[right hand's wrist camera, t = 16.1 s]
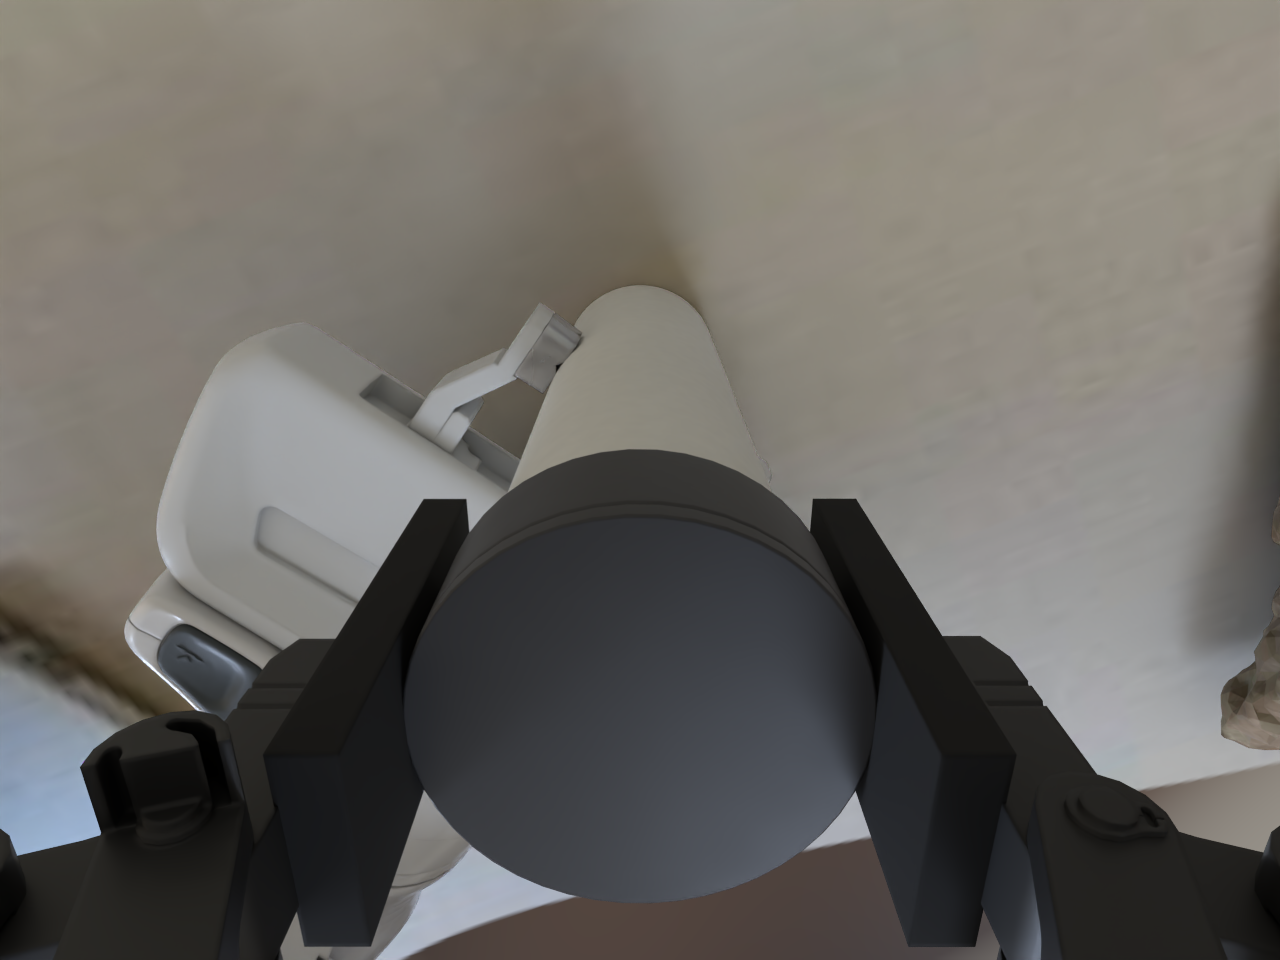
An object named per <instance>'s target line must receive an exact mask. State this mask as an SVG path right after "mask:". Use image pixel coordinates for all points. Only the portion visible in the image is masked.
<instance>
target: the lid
mask: <svg viewBox="0 0 1280 960" xmlns="http://www.w3.org/2000/svg"><path fill="white" fill-rule="evenodd" d="M876 710H877V691H876V685H875V679H874V674H873V668H872V665H871V662H870V659H869V656H868V653H867V650H866V648H865V645H864V642H863V640H862V638H861V635H860V633H859V631H858V629H857V627H856V624H855V622H854V620H853V618H852V616H851V614H850V611H849V609H848V607H847V605H846V603H845V600H844V598H843V596H842V594H841V592H840V590H839V587H838V585H837V583H836V581H835V579H834V576H833V574H832V572H831V570H830V568H829V566H828V563H827V561H826V559H825V557H824V555H823V553H822V552H821V550H820V548H819V546H818V544H817V542H816V540H815V538H814V537H813V536H812V534H811V533H810V532H809V530H808V529H807V528H806V526H805V525H804V523H803V522H802V521H801V519H800V518H799V517H798V516H797V515H796V514H795V513H794V512H793V511H792V510H791V509H790V508H789V507H788V506H787V505H786V504H785V503H784V502H783V501H782V500H781V499H780V498H778V497H777V496H776V495H774V494H773V493H772V492H770V491H769V490H768V489H766V488H765V487H764V486H763V485H761V484H759V483H758V482H756V481H754V480H753V479H751V478H749V477H747V476H746V475H744V474H742V473H740V472H739V471H736V470H734V469H731V468H729V467H727V466H724V465H722V464H719V463H717V462H714V461H712V460H708V459H704V458H701V457H697V456H693V455H689V454H686V453H679V452H671V451H664V450H654V449H626V450H617V451H608V452H600V453H595V454H591V455H587V456H583V457H579V458H575V459H571V460H569V461H566V462H564V463H561V464H558V465H556V466H553V467H550V468H548V469H546V470H544V471H542V472H540V473H538V474H536V475H534V476H533V477H531V478H529V479H527V480H525V481H523V482H522V483H521V484H519V485H518V486H516V487H515V488H514V489H512V490H511V491H509V492H508V493H507V494H505V495H504V496H502V497H501V498H500V499H499V500H498V501H497V502H496V503H495V504H494V505H493V506H492V507H491V508H490V509H489V510H488V511H487V512H486V513H485V514H484V515H483V516H482V517H481V518H480V520H479V521H478V522H477V524H476V525H475V526H474V527H473V529H472V530H471V531H470V532H469V534H468V535H467V537H466V539H465V541H464V542H463V544H462V546H461V548H460V549H459V551H458V553H457V555H456V557H455V559H454V561H453V563H452V565H451V568H450V570H449V572H448V574H447V576H446V578H445V581H444V583H443V585H442V587H441V589H440V591H439V593H438V596H437V598H436V600H435V602H434V604H433V606H432V609H431V611H430V613H429V615H428V617H427V619H426V622H425V624H424V626H423V628H422V630H421V632H420V635H419V637H418V639H417V642H416V645H415V647H414V650H413V652H412V655H411V658H410V660H409V664H408V668H407V673H406V678H405V683H404V687H403V714H404V722H405V729H406V737H407V744H408V750H409V754H410V758H411V761H412V765H413V767H414V769H415V771H416V774H417V776H418V778H419V780H420V783H421V785H422V787H423V789H424V790H425V792H426V793H427V795H428V797H429V798H430V800H431V801H432V803H433V805H434V806H435V808H436V809H437V810H438V812H439V813H440V814H441V815H442V816H443V818H444V819H445V820H446V821H447V822H448V824H449V825H450V826H451V827H452V828H453V829H454V830H455V831H456V832H457V833H458V834H459V835H460V836H461V837H462V838H463V839H465V840H466V841H467V842H468V843H469V844H470V845H471V846H472V847H473V848H475V849H476V850H478V851H479V852H480V853H482V854H483V855H485V856H486V857H487V858H489V859H490V860H491V861H493V862H494V863H496V864H498V865H500V866H501V867H503V868H505V869H507V870H509V871H510V872H512V873H514V874H516V875H517V876H520V877H522V878H524V879H527V880H529V881H531V882H534V883H536V884H538V885H541V886H543V887H547V888H550V889H553V890H556V891H559V892H562V893H566V894H569V895H574V896H579V897H584V898H589V899H593V900H601V901H610V902H619V903H659V902H671V901H680V900H686V899H691V898H697V897H702V896H707V895H710V894H713V893H717V892H720V891H724V890H728V889H731V888H734V887H736V886H739V885H741V884H744V883H746V882H749V881H751V880H754V879H756V878H758V877H760V876H762V875H764V874H766V873H768V872H770V871H771V870H773V869H775V868H777V867H779V866H781V865H782V864H784V863H785V862H787V861H788V860H790V859H791V858H793V857H794V856H796V855H797V854H798V853H800V852H801V851H803V850H804V849H805V848H806V847H807V846H809V845H810V844H811V843H812V842H813V841H814V840H815V839H817V838H818V837H819V836H820V835H821V834H822V833H823V832H824V831H825V830H826V829H827V828H828V827H829V826H830V824H831V823H832V822H833V821H834V820H835V819H836V818H837V817H838V815H839V814H840V813H841V812H842V810H843V809H844V807H845V806H846V804H847V803H848V801H849V800H850V798H851V797H852V795H853V794H854V792H855V790H856V788H857V786H858V784H859V782H860V780H861V778H862V776H863V774H864V772H865V770H866V767H867V763H868V760H869V757H870V754H871V749H872V742H873V734H874V727H875V719H876Z"/></svg>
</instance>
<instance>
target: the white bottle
mask: <svg viewBox="0 0 1280 960" xmlns="http://www.w3.org/2000/svg"><path fill="white" fill-rule="evenodd" d="M574 327H575V328H577V329H578V330H580V331H581V332H582V335H581V336H580V340H579V342H578V344H577V346H576V347H575V349H574V350H573V352H572V353H571V355H570V356H569V357H568V358H567V359H566V360H565V361H564V363H561V364H559V367H558V370H557V372H556V374H555V376H554V378H553V380H552V382H551V384H550V387H549V389H548V392H547V394H546V397H545V399H544V402H543V404H542V407H541V410H540V412H539V415H538V417H537V420H536V422H535V425H534V427H533V430H532V432H531V435H530V437H529V440H528V442H527V445H526V448H525V450H524V453H523V455H522V458H521V460H520V463H519V465H518V468H517V470H516V473H515V475H514V478H513V481H512V483H511V486H510V488H509V491H511V490H512V489H514V488H515V487H516V486H518V485H519V484H521V483H522V482H523V481H525V480H527V479H529V478H531V477H533V476H534V475H536V474H538V473H540V472H542V471H544V470H546V469H548V468H550V467H553V466H556V465H558V464H561V463H564V462H566V461H569V460H571V459H575V458H579V457H583V456H587V455H591V454H595V453H600V452H608V451H617V450H626V449H654V450H664V451H671V452H679V453H686V454H689V455H693V456H697V457H701V458H704V459H708V460H712V461H714V462H717V463H719V464H722V465H724V466H727V467H729V468H731V469H734V470H736V471H739V472H740V473H742V474H744V475H746V476H747V477H749V478H751V479H753V480H754V481H756V482H758V483H759V484H761V485H763V486H764V487H765V488H766V489H768V490H769V491H770V492H772V491H771V488H770V485H769V483H768V480H767V478H766V475H765V473H764V470H763V468H762V465H761V462H760V460H759V457H758V455H757V452H756V450H755V447H754V445H753V442H752V440H751V437H750V434H749V432H748V429H747V427H746V424H745V422H744V419H743V417H742V414H741V411H740V409H739V406H738V404H737V401H736V399H735V396H734V394H733V391H732V388H731V386H730V383H729V381H728V378H727V376H726V373H725V371H724V368H723V365H722V363H721V360H720V358H719V355H718V353H717V350H716V348H715V345H714V342H713V340H712V337H711V335H710V332H709V330H708V328H707V325H706V324H705V322H704V320H703V319H702V317H701V316H700V314H699V313H698V312H697V311H696V309H695V308H694V307H692V306H691V305H690V304H689V303H688V302H687V301H686V300H684V299H683V298H682V297H680V296H678V295H676V294H675V293H673V292H670V291H668V290H665V289H663V288H659V287H654V286H647V285H633V286H626V287H622V288H618V289H615V290H612V291H610V292H608V293H606V294H604V295H602V296H601V297H599V298H598V299H596V300H595V301H594V302H592V303H591V304H590V305H589V306H588V307H587V308H586V309H585V310H584V311H583V312H582V314H581V315H580V317H579V318H578V319H577V321H576V323H575V325H574ZM509 491H508V492H509Z"/></svg>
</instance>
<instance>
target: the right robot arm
mask: <svg viewBox="0 0 1280 960" xmlns="http://www.w3.org/2000/svg"><path fill="white" fill-rule="evenodd" d="M810 533H811V534H812V536H813V537H814V538H815V540H816V542H817V544H818V546H819V548H820V550H821V552H822V553H823V555H824V557H825V559H826V561H827V563H828V566H829V568H830V570H831V572H832V574H833V576H834V579H835V581H836V583H837V585H838V587H839V590H840V592H841V594H842V596H843V598H844V600H845V603H846V605H847V607H848V609H849V611H850V614H851V616H852V618H853V620H854V622H855V624H856V627H857V629H858V631H859V633H860V635H861V638H862V640H863V642H864V645H865V648H866V650H867V653H868V656H869V659H870V662H871V665H872V668H873V674H874V679H875V685H876V691H877V710H876V719H875V727H874V734H873V742H872V749H871V754H870V757H869V760H868V763H867V767H866V770H865V772H864V774H863V776H862V778H861V780H860V782H859V784H858V786H857V788H856V793H857V796H858V799H859V802H860V805H861V808H862V811H863V814H864V817H865V820H866V823H867V826H868V829H869V832H870V835H871V838H872V841H873V843H874V846H875V849H876V852H877V855H878V858H879V861H880V864H881V867H882V870H883V873H884V876H885V879H886V882H887V885H888V888H889V891H890V894H891V896H892V899H893V902H894V905H895V908H896V911H897V914H898V917H899V920H900V923H901V926H902V929H903V932H904V935H905V938H906V941H907V944H908V946H909V947H975V945H976V941H977V936H978V931H979V927H980V922H981V918H982V913H983V909H984V911H985V914H986V916H987V918H988V920H989V922H990V925H991V927H992V929H993V931H994V933H995V936H996V938H997V940H998V942H999V944H1000V949H999V953H998V957H997V960H1280V826H1279V827H1278V828H1276V829H1275V830H1274V831H1272V832H1271V834H1270V837H1269V840H1268V842H1267V845H1266V848H1265V850H1264V853H1263V852H1259V851H1254V850H1250V849H1246V848H1241V847H1237V846H1233V845H1228V844H1224V843H1220V842H1215V841H1211V840H1207V839H1202V838H1198V837H1194V836H1191V835H1188V834H1185V833H1181V832H1179V831H1178V830H1177V828H1176V827H1175V825H1174V824H1173V822H1172V821H1171V819H1170V818H1169V816H1168V814H1167V813H1166V812H1165V811H1164V810H1163V809H1161V808H1160V807H1159V806H1158V805H1157V804H1155V803H1154V802H1153V801H1152V800H1151V799H1150V798H1148V797H1147V796H1146V795H1144V794H1143V793H1141V792H1139V791H1137V790H1135V789H1133V788H1131V787H1129V786H1128V785H1126V784H1124V783H1122V782H1120V781H1117V780H1114V779H1110V778H1107V777H1104V776H1101V775H1097V774H1096V772H1095V771H1094V770H1093V768H1092V767H1091V766H1090V764H1089V763H1088V761H1087V760H1086V759H1085V757H1084V756H1083V755H1082V753H1081V752H1080V751H1079V749H1078V748H1077V747H1076V745H1075V744H1074V743H1073V741H1072V740H1071V738H1070V737H1069V736H1068V734H1067V733H1066V732H1065V730H1064V729H1063V728H1062V726H1061V725H1060V724H1059V722H1058V721H1057V720H1056V718H1055V717H1054V715H1053V714H1052V713H1051V711H1050V710H1049V709H1048V707H1047V706H1043V701H1042V699H1041V698H1040V697H1039V695H1038V694H1037V692H1036V691H1035V690H1034V688H1033V687H1032V686H1029V685H1028V680H1027V679H1026V678H1025V676H1024V675H1023V674H1022V672H1021V671H1020V669H1019V668H1018V667H1017V665H1016V664H1015V663H1014V661H1013V660H1012V659H1011V657H1010V656H1008V655H1007V654H1005V653H1004V652H1003V651H1001V650H1000V649H998V648H997V647H995V646H994V645H992V644H991V643H990V642H988V641H987V640H985V639H984V638H982V637H981V636H942V635H941V633H940V632H939V630H938V628H937V627H936V625H935V624H934V622H933V620H932V619H931V617H930V616H929V614H928V613H927V611H926V609H925V608H924V606H923V605H922V603H921V601H920V600H919V598H918V597H917V595H916V593H915V592H914V590H913V589H912V587H911V586H910V584H909V582H908V581H907V579H906V578H905V576H904V574H903V573H902V571H901V570H900V568H899V566H898V565H897V563H896V562H895V560H894V559H893V557H892V555H891V554H890V552H889V551H888V549H887V547H886V546H885V544H884V543H883V541H882V539H881V538H880V536H879V535H878V533H877V532H876V530H875V528H874V527H873V525H872V524H871V522H870V520H869V519H868V517H867V516H866V514H865V512H864V511H863V509H862V508H861V506H860V505H859V503H858V501H857V500H856V499H813V505H812V516H811V528H810ZM468 534H469V521H468V510H467V499H423V501H422V502H421V504H420V505H419V507H418V509H417V510H416V512H415V513H414V515H413V517H412V518H411V520H410V521H409V523H408V524H407V526H406V528H405V529H404V531H403V532H402V534H401V536H400V537H399V539H398V540H397V542H396V543H395V545H394V547H393V548H392V550H391V551H390V553H389V555H388V556H387V558H386V559H385V561H384V563H383V564H382V566H381V567H380V569H379V570H378V572H377V574H376V575H375V577H374V578H373V580H372V582H371V583H370V585H369V586H368V588H367V590H366V591H365V593H364V594H363V596H362V597H361V599H360V601H359V602H358V604H357V605H356V607H355V609H354V610H353V612H352V613H351V615H350V617H349V618H348V620H347V621H346V623H345V624H344V626H343V628H342V629H341V631H340V632H339V634H338V636H337V637H336V639H298V640H297V641H295V642H294V643H293V644H291V645H290V646H288V647H287V648H285V649H284V650H283V651H281V652H280V653H278V654H277V655H275V656H274V657H273V658H271V659H270V660H269V661H268V663H267V664H266V665H265V667H264V668H263V669H262V671H261V672H260V674H259V675H258V676H257V678H256V679H255V680H254V682H253V683H252V688H248V690H247V691H246V693H245V694H244V695H243V697H242V698H241V699H240V701H239V702H238V703H237V709H233V710H232V712H231V713H230V714H229V716H228V717H227V718H226V720H225V721H224V720H222V719H221V718H220V717H219V716H217V715H216V714H211V713H206V712H201V711H197V710H195V711H181V712H170V713H166V714H162V715H159V716H155V717H151V718H148V719H144V720H141V721H139V722H137V723H135V724H133V725H131V726H129V727H127V728H125V729H123V730H120V731H118V732H116V733H115V734H113V735H112V736H111V737H109V738H108V739H107V740H105V741H104V742H103V743H101V744H100V745H99V746H97V747H96V748H95V749H93V751H92V752H91V753H90V755H89V756H88V757H87V759H86V760H85V761H84V763H83V764H82V765H81V767H80V769H81V772H82V775H83V778H84V781H85V784H86V787H87V790H88V793H89V796H90V800H91V803H92V806H93V809H94V812H95V815H96V818H97V821H98V824H99V827H100V830H101V835H100V836H97V837H93V838H90V839H87V840H83V841H79V842H75V843H70V844H66V845H62V846H58V847H53V848H49V849H45V850H40V851H36V852H32V853H27V854H23V855H19V856H17V855H16V852H15V849H14V847H13V844H12V842H11V839H10V836H9V835H8V834H7V833H5V832H4V831H3V830H1V829H0V960H283V957H282V953H281V949H280V947H281V945H282V943H283V941H284V939H285V936H286V934H287V932H288V930H289V928H290V925H291V923H292V921H293V919H294V917H295V914H296V912H297V915H298V920H299V925H300V929H301V934H302V938H303V943H304V947H371V945H372V942H373V939H374V936H375V933H376V931H377V928H378V925H379V922H380V919H381V916H382V913H383V910H384V907H385V904H386V901H387V898H388V895H389V892H390V889H391V886H392V883H393V880H394V878H395V875H396V872H397V869H398V866H399V863H400V860H401V857H402V854H403V851H404V848H405V845H406V842H407V839H408V836H409V833H410V830H411V827H412V825H413V822H414V819H415V816H416V813H417V810H418V807H419V804H420V801H421V798H422V795H423V792H424V789H423V787H422V785H421V783H420V780H419V778H418V776H417V774H416V771H415V769H414V767H413V765H412V761H411V758H410V754H409V750H408V744H407V737H406V729H405V722H404V714H403V687H404V683H405V678H406V673H407V668H408V664H409V660H410V658H411V655H412V652H413V650H414V647H415V645H416V642H417V639H418V637H419V635H420V632H421V630H422V628H423V626H424V624H425V622H426V619H427V617H428V615H429V613H430V611H431V609H432V606H433V604H434V602H435V600H436V598H437V596H438V593H439V591H440V589H441V587H442V585H443V583H444V581H445V578H446V576H447V574H448V572H449V570H450V568H451V565H452V563H453V561H454V559H455V557H456V555H457V553H458V551H459V549H460V548H461V546H462V544H463V542H464V541H465V539H466V537H467V535H468Z"/></svg>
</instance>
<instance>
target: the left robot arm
mask: <svg viewBox="0 0 1280 960" xmlns="http://www.w3.org/2000/svg"><path fill="white" fill-rule="evenodd" d="M581 335H582V332H581V331H580V330H578V329H577V328H575V327H574V326H573V325H571V324H570V323H569V322H567V321H566V320H565V319H563V318H562V317H560V316H559V315H558V314H556V313H554V311H553V310H551V309H550V308H548V307H547V306H545V305H544V304H542V303H541V302H540V303H539V304H538V306H537V307H536V309H535V310H534V311H533V313H532V314H531V316H530V317H529V319H528V320H527V322H526V323H525V325H524V326H523V328H522V329H521V331H520V332H519V334H518V335H517V337H516V338H515V340H514V341H513V343H512V344H511V346H510V347H509V349H508V350H507V349H505V348H502V349H500V350H498V351H495V352H493V353H491V354H489V355H487V356H484V357H482V358H480V359H478V360H475V361H473V362H471V363H469V364H467V365H464V366H462V367H460V368H458V369H456V370H453V371H451V372H449V373H447V374H446V375H445V376H444V377H443V378H442V379H441V381H440V382H439V383H438V384H437V385H436V386H435V387H434V389H433V390H432V391H431V392H430V393H429V395H428V396H427V398H425V397H424V396H422V395H421V394H419V393H418V392H416V391H415V390H413V389H412V388H410V387H408V386H407V385H405V384H404V383H402V382H401V381H399V380H398V379H396V378H395V377H393V376H392V375H390V374H388V373H387V372H385V371H384V370H382V369H381V368H379V367H378V366H376V365H375V364H373V363H372V362H370V361H369V360H367V359H366V358H364V357H362V356H361V355H359V354H358V353H356V352H355V351H353V350H352V349H350V348H349V347H347V346H346V345H344V344H343V343H341V342H339V341H338V340H336V339H335V338H333V337H332V336H330V335H329V334H327V333H326V332H324V331H323V330H321V329H320V328H318V327H316V326H314V325H312V324H310V323H305V322H300V323H294V324H289V325H285V326H280V327H276V328H272V329H269V330H266V331H263V332H260V333H258V334H255V335H253V336H251V337H249V338H247V339H245V340H244V341H242V342H240V343H239V344H237V345H236V346H234V347H233V348H231V349H230V350H229V351H228V352H227V353H226V354H225V355H224V356H223V357H222V359H221V360H220V361H219V363H218V364H217V365H216V367H215V369H214V370H213V372H212V374H211V376H210V378H209V379H208V381H207V383H206V385H205V387H204V389H203V391H202V393H201V395H200V397H199V399H198V401H197V403H196V406H195V408H194V410H193V412H192V414H191V417H190V419H189V421H188V423H187V426H186V428H185V431H184V433H183V436H182V438H181V440H180V443H179V446H178V448H177V451H176V454H175V456H174V459H173V462H172V464H171V467H170V470H169V474H168V477H167V480H166V483H165V486H164V489H163V492H162V496H161V499H160V503H159V507H158V513H157V522H156V534H157V542H158V547H159V551H160V554H161V556H162V559H163V561H164V563H165V565H166V567H167V568H166V570H165V571H164V572H163V573H162V574H161V575H160V576H159V577H158V578H157V579H156V580H155V582H154V583H153V584H152V586H151V587H150V588H149V589H148V591H147V592H146V593H145V594H144V596H143V597H142V598H141V600H140V601H139V602H138V603H137V605H136V606H135V608H134V609H133V611H132V612H131V614H130V615H129V617H128V619H127V622H126V624H125V629H124V634H125V639H126V641H127V643H128V645H129V647H130V648H131V649H132V651H133V652H134V653H135V654H136V655H137V656H138V657H139V658H140V659H141V660H142V661H143V662H144V663H145V664H146V665H147V666H148V667H150V668H151V669H152V670H153V671H154V672H155V673H156V674H158V675H159V676H160V677H161V678H162V679H163V680H164V681H166V682H167V683H168V684H169V685H170V686H171V687H172V688H173V689H174V690H176V691H177V692H178V693H179V694H180V695H181V696H182V697H183V698H184V699H185V700H186V701H188V702H189V703H190V704H191V705H192V706H193V707H194V708H195V709H196V710H197V711H201V712H206V713H211V714H216V715H217V716H219V717H220V718H221V719H222V720H224V721H225V720H226V718H227V717H228V716H229V714H230V713H231V712H232V710H233V709H237V703H238V702H239V701H240V699H241V698H242V697H243V695H244V694H245V693H246V691H247V690H248V688H252V683H253V682H254V680H255V679H256V678H257V676H258V675H259V674H260V672H261V671H262V669H263V668H264V667H265V665H266V664H267V663H268V661H269V660H270V659H271V658H273V657H274V656H275V655H277V654H278V653H280V652H281V651H283V650H284V649H285V648H287V647H288V646H290V645H291V644H293V643H294V642H295V641H297V640H298V639H336V637H337V636H338V634H339V632H340V631H341V629H342V628H343V626H344V624H345V623H346V621H347V620H348V618H349V617H350V615H351V613H352V612H353V610H354V609H355V607H356V605H357V604H358V602H359V601H360V599H361V597H362V596H363V594H364V593H365V591H366V590H367V588H368V586H369V585H370V583H371V582H372V580H373V578H374V577H375V575H376V574H377V572H378V570H379V569H380V567H381V566H382V564H383V563H384V561H385V559H386V558H387V556H388V555H389V553H390V551H391V550H392V548H393V547H394V545H395V543H396V542H397V540H398V539H399V537H400V536H401V534H402V532H403V531H404V529H405V528H406V526H407V524H408V523H409V521H410V520H411V518H412V517H413V515H414V513H415V512H416V510H417V509H418V507H419V505H420V504H421V502H422V501H423V499H467V510H468V521H469V532H470V531H471V530H472V529H473V527H474V526H475V525H476V524H477V522H478V521H479V520H480V518H481V517H482V516H483V515H484V514H485V513H486V512H487V511H488V510H489V509H490V508H491V507H492V506H493V505H494V504H495V503H496V502H497V501H498V500H499V499H500V498H501V497H502V496H504V495H505V494H507V493H508V491H509V488H510V486H511V483H512V481H513V478H514V475H515V473H516V470H517V468H518V465H519V463H520V459H519V458H517V457H516V456H514V455H513V454H511V453H510V452H508V451H507V450H505V449H504V448H502V447H501V446H499V445H497V444H496V443H494V442H493V441H491V440H490V439H488V438H487V437H485V436H484V435H482V434H481V433H479V432H478V431H476V430H474V429H473V428H471V427H470V424H471V423H472V421H473V419H474V418H475V416H476V415H477V413H478V411H479V410H480V408H481V407H482V405H483V403H484V401H483V398H482V397H480V396H482V395H484V394H486V393H488V392H490V391H492V390H494V389H497V388H499V387H501V386H503V385H505V384H507V383H509V382H511V381H514V380H516V379H517V378H519V379H521V380H522V381H524V382H525V383H527V384H528V385H530V386H532V387H533V388H535V389H536V390H538V391H539V392H541V393H542V394H543V393H544V392H545V390H546V389H547V387H548V386H549V385H550V383H551V382H552V380H553V378H554V376H555V374H556V372H557V370H558V367H559V364H561V363H564V361H565V360H566V359H567V358H568V357H569V356H570V355H571V353H572V352H573V350H574V349H575V347H576V346H577V344H578V342H579V340H580V336H581ZM758 457H759V456H758ZM759 460H760V462H761V465H762V468H763V470H764V473H765V475H766V478H767V480H768V483H769V482H770V480H771V477H772V473H771V471H770V469H769V466H768V464H767V462H766V461H765V460H763V459H762V458H760V457H759ZM471 847H472V846H471V845H470V844H469V843H468V842H467V841H466V840H465V839H463V838H462V837H461V836H460V835H459V834H458V833H457V832H456V831H455V830H454V829H453V828H452V827H451V826H450V825H449V824H448V822H447V821H446V820H445V819H444V818H443V816H442V815H441V814H440V813H439V812H438V810H437V809H436V808H435V806H434V805H433V803H432V801H431V800H430V798H429V797H428V795H427V793H426V792H425V790H424V792H423V795H422V798H421V801H420V804H419V807H418V810H417V813H416V816H415V819H414V822H413V825H412V827H411V830H410V833H409V836H408V839H407V842H406V845H405V848H404V851H403V854H402V857H401V860H400V863H399V866H398V869H397V872H396V875H395V878H394V880H393V883H392V886H391V889H390V892H389V895H388V898H387V901H386V904H385V907H384V910H383V913H382V916H381V919H380V922H379V925H378V928H377V931H376V933H375V936H374V939H373V942H372V945H371V947H304V943H303V938H302V934H301V929H300V925H299V920H298V915H297V912H296V914H295V917H294V919H293V921H292V923H291V925H290V928H289V930H288V932H287V934H286V936H285V939H284V941H283V943H282V945H281V947H280V949H281V953H282V957H283V960H375V959H376V958H377V957H378V956H379V955H380V954H381V953H382V952H383V950H384V949H385V948H386V947H387V946H388V945H389V944H390V942H391V941H392V940H393V939H394V938H395V937H396V936H397V934H398V933H399V932H400V930H401V929H402V928H403V926H404V925H405V923H406V922H407V920H408V919H409V917H410V916H411V914H412V912H413V910H414V908H415V906H416V904H417V902H418V899H419V896H420V894H421V891H422V889H424V888H426V887H428V886H430V885H431V884H433V883H435V882H436V881H438V880H439V879H440V878H442V877H443V876H444V875H446V874H447V873H448V872H449V871H451V870H452V869H453V868H454V866H455V865H456V864H457V863H458V862H459V861H460V860H461V859H462V858H463V857H464V855H465V854H466V853H467V852H468V851H469V849H470V848H471Z"/></svg>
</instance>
